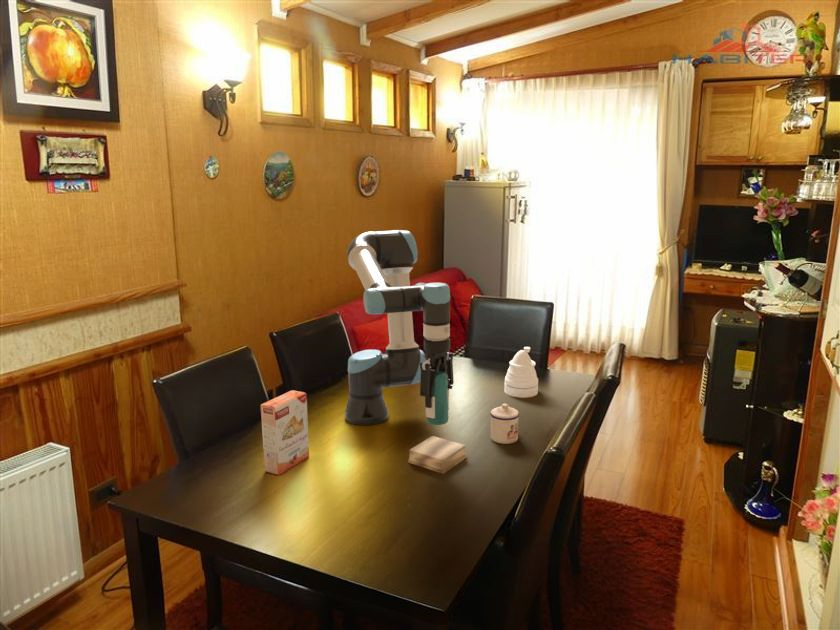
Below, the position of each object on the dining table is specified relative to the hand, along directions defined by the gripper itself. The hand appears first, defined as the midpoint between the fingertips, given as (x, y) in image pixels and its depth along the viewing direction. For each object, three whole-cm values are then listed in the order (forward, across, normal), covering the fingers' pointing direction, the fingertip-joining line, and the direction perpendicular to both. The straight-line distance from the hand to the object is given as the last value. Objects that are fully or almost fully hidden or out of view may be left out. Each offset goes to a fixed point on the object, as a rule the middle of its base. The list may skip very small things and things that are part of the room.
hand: (437, 413), depth 183 cm
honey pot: (+15, +66, +6) cm, 68 cm away
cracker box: (+15, -27, +35) cm, 47 cm away
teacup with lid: (+15, +26, -9) cm, 31 cm away
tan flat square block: (+15, 0, 0) cm, 15 cm away
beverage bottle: (+4, 0, 0) cm, 4 cm away
